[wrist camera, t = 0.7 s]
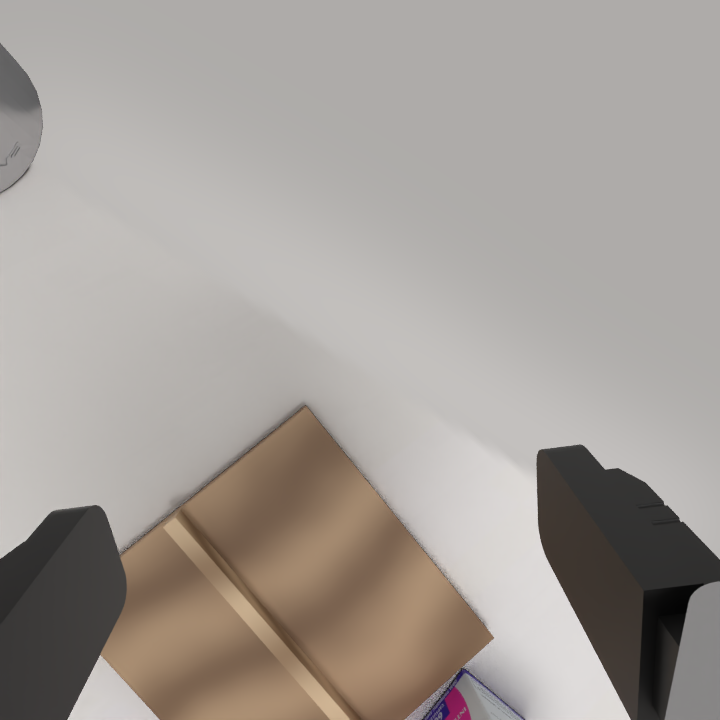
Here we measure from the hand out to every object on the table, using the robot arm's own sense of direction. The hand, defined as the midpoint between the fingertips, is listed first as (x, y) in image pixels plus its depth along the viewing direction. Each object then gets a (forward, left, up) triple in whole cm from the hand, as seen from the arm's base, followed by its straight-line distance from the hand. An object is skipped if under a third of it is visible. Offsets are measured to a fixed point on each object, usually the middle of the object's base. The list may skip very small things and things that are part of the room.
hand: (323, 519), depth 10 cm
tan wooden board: (+9, -8, -23) cm, 26 cm away
